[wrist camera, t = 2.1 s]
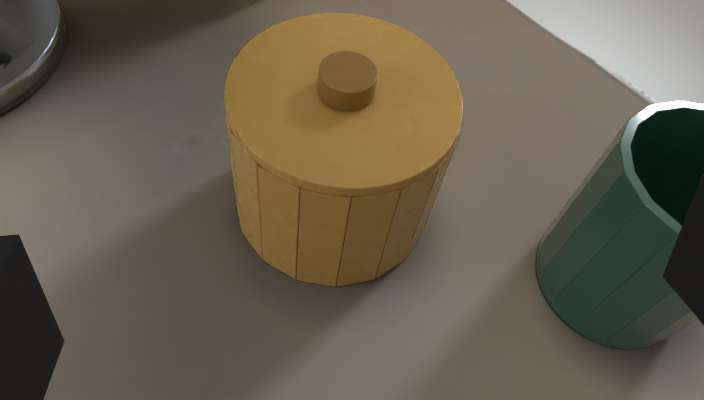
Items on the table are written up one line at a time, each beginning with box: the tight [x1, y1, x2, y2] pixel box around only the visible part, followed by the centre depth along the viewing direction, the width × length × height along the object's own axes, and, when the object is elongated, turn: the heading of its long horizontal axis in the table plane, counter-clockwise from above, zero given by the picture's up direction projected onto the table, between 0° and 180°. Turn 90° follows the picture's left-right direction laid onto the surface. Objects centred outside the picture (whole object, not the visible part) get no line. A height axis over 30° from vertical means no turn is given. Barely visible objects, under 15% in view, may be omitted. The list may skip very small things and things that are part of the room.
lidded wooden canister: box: [223, 13, 463, 287], centre depth 29 cm, size 11×11×10 cm
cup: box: [536, 100, 704, 349], centre depth 28 cm, size 8×8×10 cm
